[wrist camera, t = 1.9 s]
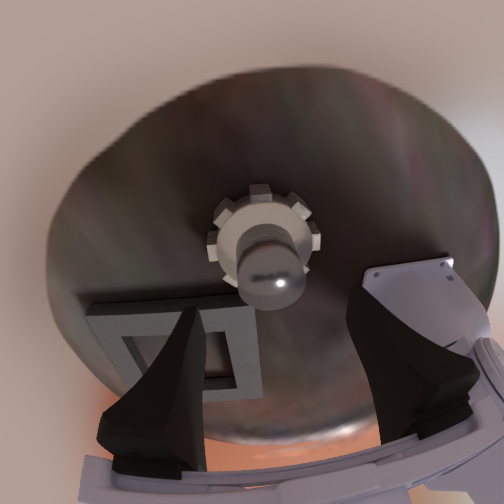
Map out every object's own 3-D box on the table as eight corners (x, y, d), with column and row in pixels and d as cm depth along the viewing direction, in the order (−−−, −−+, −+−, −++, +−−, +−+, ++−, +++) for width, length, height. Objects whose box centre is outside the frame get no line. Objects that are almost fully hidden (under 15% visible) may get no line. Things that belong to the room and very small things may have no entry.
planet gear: (314, 179, 18) (343, 218, 14) (311, 270, 22) (331, 323, 17) (201, 190, 18) (191, 232, 13) (216, 280, 22) (215, 336, 17)
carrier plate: (252, 291, 23) (254, 305, 21) (262, 386, 30) (263, 397, 29) (90, 304, 22) (84, 316, 21) (141, 390, 30) (140, 401, 29)
